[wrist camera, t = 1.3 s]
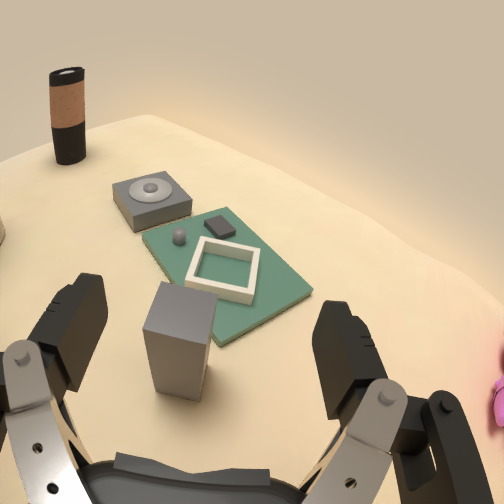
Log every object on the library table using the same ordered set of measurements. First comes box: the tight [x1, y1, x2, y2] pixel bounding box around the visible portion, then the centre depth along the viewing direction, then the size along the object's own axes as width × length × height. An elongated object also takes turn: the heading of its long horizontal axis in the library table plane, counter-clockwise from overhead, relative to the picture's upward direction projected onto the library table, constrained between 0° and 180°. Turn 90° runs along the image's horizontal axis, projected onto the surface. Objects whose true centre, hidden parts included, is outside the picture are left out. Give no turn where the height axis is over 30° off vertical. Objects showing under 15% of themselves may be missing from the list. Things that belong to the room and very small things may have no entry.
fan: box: [112, 171, 192, 232], centre depth 48 cm, size 10×10×4 cm
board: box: [142, 207, 313, 347], centre depth 41 cm, size 20×15×3 cm
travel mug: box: [49, 67, 86, 165], centre depth 50 cm, size 8×8×20 cm
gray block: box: [143, 281, 218, 402], centre depth 25 cm, size 4×5×12 cm
